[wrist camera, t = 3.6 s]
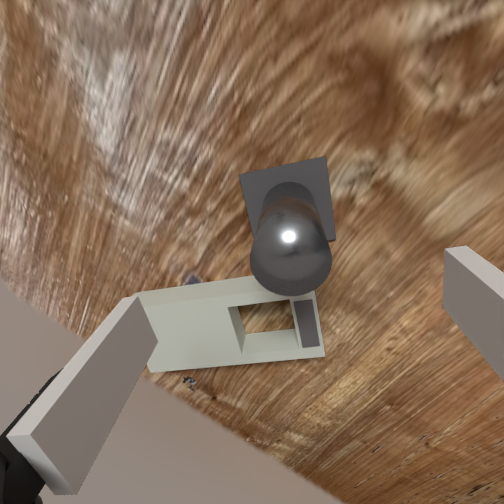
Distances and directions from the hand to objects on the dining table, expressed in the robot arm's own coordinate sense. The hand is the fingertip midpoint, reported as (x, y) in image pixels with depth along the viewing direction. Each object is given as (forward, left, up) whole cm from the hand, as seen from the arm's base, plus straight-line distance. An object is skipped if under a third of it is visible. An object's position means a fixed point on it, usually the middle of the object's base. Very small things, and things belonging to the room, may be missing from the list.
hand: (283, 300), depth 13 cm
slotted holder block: (+10, -8, -14) cm, 19 cm away
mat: (0, 0, -14) cm, 14 cm away
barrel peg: (0, 0, -14) cm, 14 cm away
